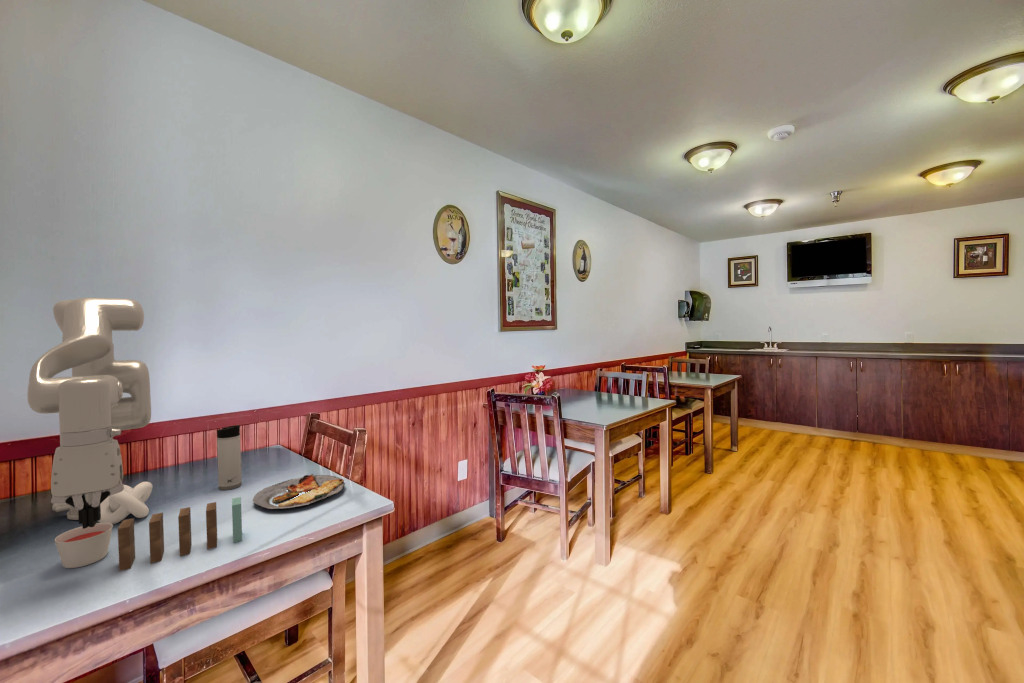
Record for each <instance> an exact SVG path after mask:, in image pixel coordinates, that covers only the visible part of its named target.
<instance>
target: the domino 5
mask: <svg viewBox="0 0 1024 683" xmlns="http://www.w3.org/2000/svg"><path fill="white" fill-rule="evenodd" d="M231 499H232V501H231V511H232V512H231V516H232V520H231V521H232V543H233V544H235V543H238V542H242V541H243V523H242V522H243V519H242V517H243V516H242V497H241V496H239V497H235V498H231Z"/></svg>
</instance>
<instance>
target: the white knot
mask: <svg viewBox="0 0 1024 683" xmlns="http://www.w3.org/2000/svg"><path fill="white" fill-rule="evenodd" d="M123 486H124V489H123V491H122V492H119V493H117V494H114V495H111V496H108V497H107V498H106V499H105V500H104V501H103V502H102V503H101V504H100V509H101V519H100V520H99V521H98V523H111V524H112V525H115V524H117V523H120V522H122V521H123V520H125V519H126V518H127V517H128V516H129V515H133V516H134V517H135V518H138V519H142V518H145V517H147V516H148V514H149V512H150V510H149V507H148V506H147V504H145V503H146V501H147V500H148V499H149V497H150V496H151V494H152V491H153V487H154V486H153V484H152V483H151V482H150V481H142V482H140V483H138V484H136V485H135V486H134V487H132V486H129V485H127V484H123ZM109 507H111V509H112V511H113V513H112V512H111V511H110V508H109Z"/></svg>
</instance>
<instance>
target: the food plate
mask: <svg viewBox="0 0 1024 683" xmlns="http://www.w3.org/2000/svg"><path fill="white" fill-rule="evenodd" d="M344 481H345V480H344V478H340V477H338V476H335V475H328V474H326V475H320V474H319V475H317V474H316V475H315V474H314V473H311V474H310V475H309V474H306V475H304V476H301V477H298V478H291V479H287V480H285V481H282V482H279V483H276V484H272V485H270V486H268V487H265V488H263V489H260V490H259V491H258V492H256V493H255V495H254V496H253V498H252V501H253V504H255V505H257V506H260V507H262V508H265V509H269V510H270V509H271V510H273V509H276V510H277V509H283V510H285V509H286V510H290V509H292V508H293V509H294V508H296V507H303V506H306V505H307V506H308V505H310V504H313V503H316V502H319V501H321V500H324V499H327V497H331V496H332V495H334V494H338V493H340V492H342V491H343V490H344V487H345V485H346V483H345V482H344ZM286 490H288V492H287V491H286ZM308 491H309V492H308ZM302 492H305V494H302V495H300V496H298V495H299V493H302ZM306 492H307V493H306ZM296 496H298V497H296ZM294 497H296V498H294ZM292 498H294V499H292ZM290 499H292V500H290ZM271 500H272V504H271V502H270V501H271ZM287 500H288V501H287Z"/></svg>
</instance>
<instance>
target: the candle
mask: <svg viewBox="0 0 1024 683" xmlns="http://www.w3.org/2000/svg"><path fill="white" fill-rule="evenodd" d="M113 527H114V524H111V523H100V522H97V523H96V524H95V526H94V527H87V528H85V529H83V526H79V527H75V528H73V529H69V530H67V531H64V532H62V533H61V534H58V535H57V536H56V537H55V539H54V543H55V547H56V550H57V552H58V553H57V554H58V557H59V558H60V561H61V564H62V567H63V568H66V569H74V568H75V569H76V568H81V567H85V566H88V565H91V564H94V563H96V562H98V561H101V560H102V559H104V558H106V557H107V555H108V552H109V549H110V542H111V539H112V538H111V537H112V532H113Z"/></svg>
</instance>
